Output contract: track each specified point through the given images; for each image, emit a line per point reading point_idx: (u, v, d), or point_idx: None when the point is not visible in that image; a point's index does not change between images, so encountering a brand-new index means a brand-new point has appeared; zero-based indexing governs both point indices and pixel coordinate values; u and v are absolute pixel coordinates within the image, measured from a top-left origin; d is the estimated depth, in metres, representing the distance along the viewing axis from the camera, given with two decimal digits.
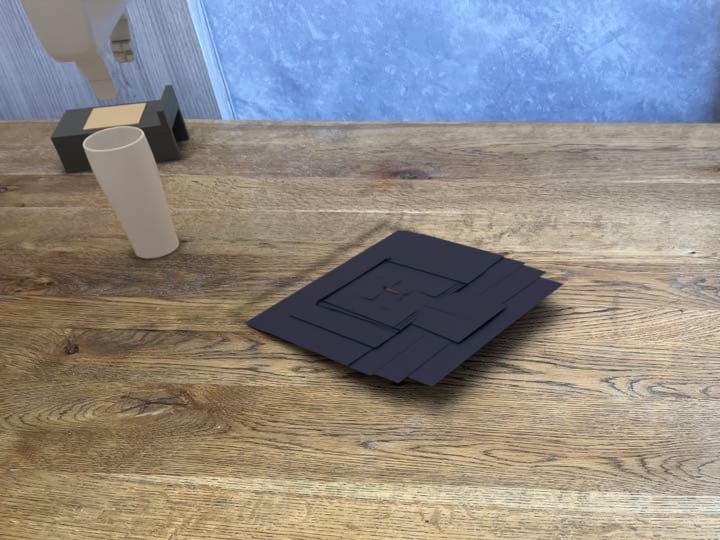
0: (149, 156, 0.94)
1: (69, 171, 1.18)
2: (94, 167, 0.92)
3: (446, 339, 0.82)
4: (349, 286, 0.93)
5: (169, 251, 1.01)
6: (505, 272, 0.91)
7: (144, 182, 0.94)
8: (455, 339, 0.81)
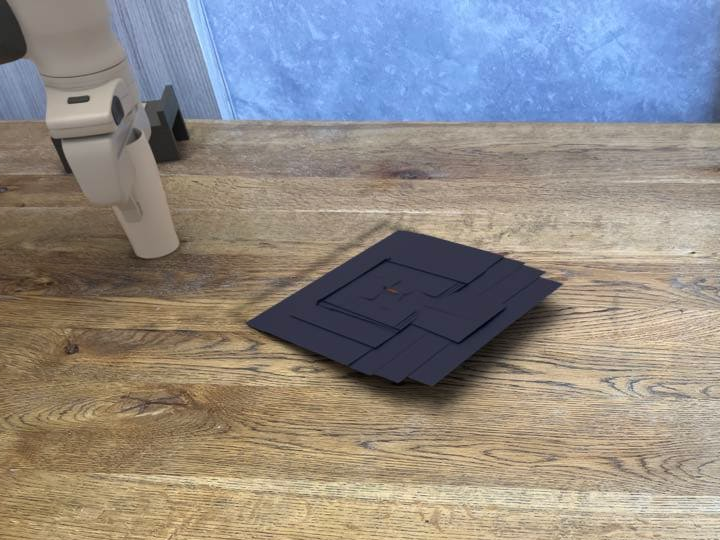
0: (149, 156, 0.94)
1: (69, 171, 1.18)
2: None
3: (446, 339, 0.82)
4: (349, 286, 0.93)
5: (169, 251, 1.01)
6: (505, 272, 0.91)
7: (144, 182, 0.94)
8: (455, 339, 0.81)
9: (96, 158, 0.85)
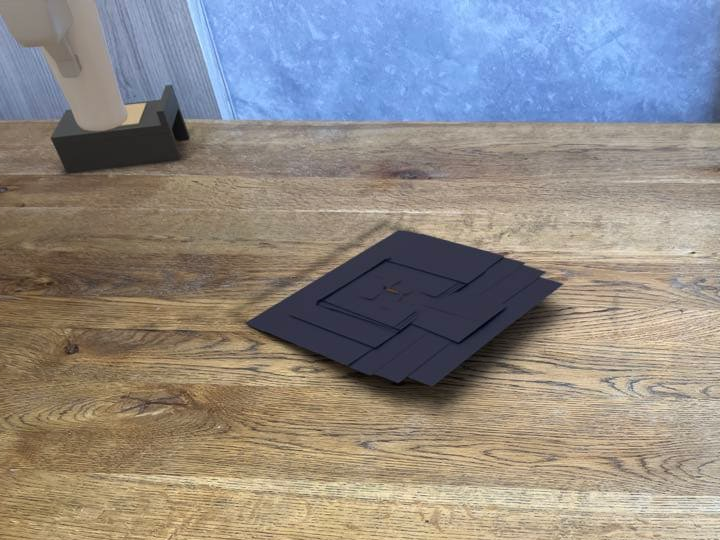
0: (89, 1, 0.83)
1: (69, 171, 1.18)
2: None
3: (446, 339, 0.82)
4: (349, 286, 0.93)
5: (114, 120, 0.90)
6: (505, 272, 0.91)
7: (83, 31, 0.83)
8: (455, 339, 0.81)
9: None
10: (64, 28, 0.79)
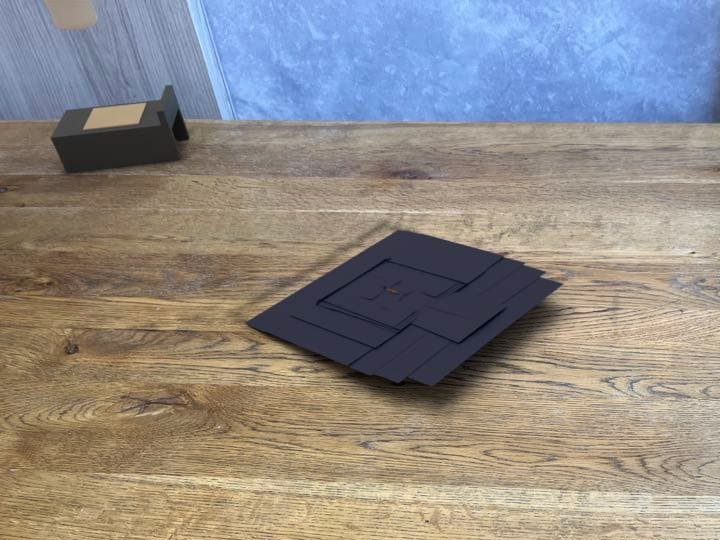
0: None
1: (69, 171, 1.18)
2: None
3: (446, 339, 0.82)
4: (349, 286, 0.93)
5: (86, 20, 1.04)
6: (505, 272, 0.91)
7: None
8: (455, 339, 0.81)
9: None
10: None
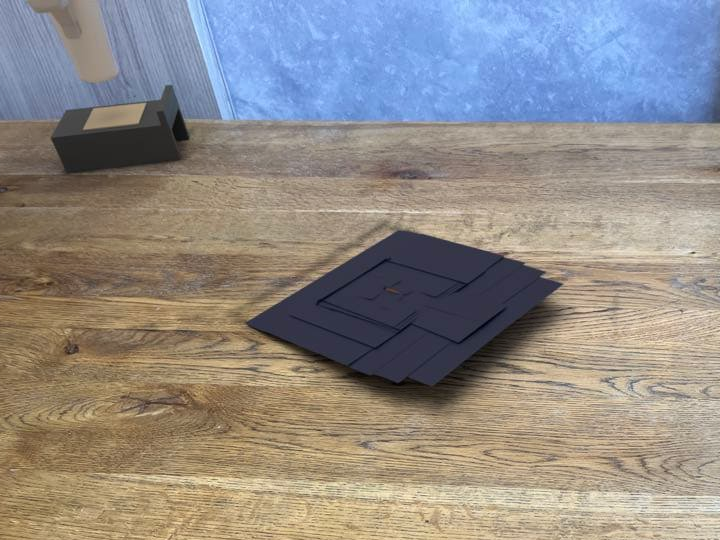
0: None
1: (69, 171, 1.18)
2: None
3: (446, 339, 0.82)
4: (349, 286, 0.93)
5: (108, 73, 1.14)
6: (505, 272, 0.91)
7: (82, 1, 1.07)
8: (455, 339, 0.81)
9: None
10: None
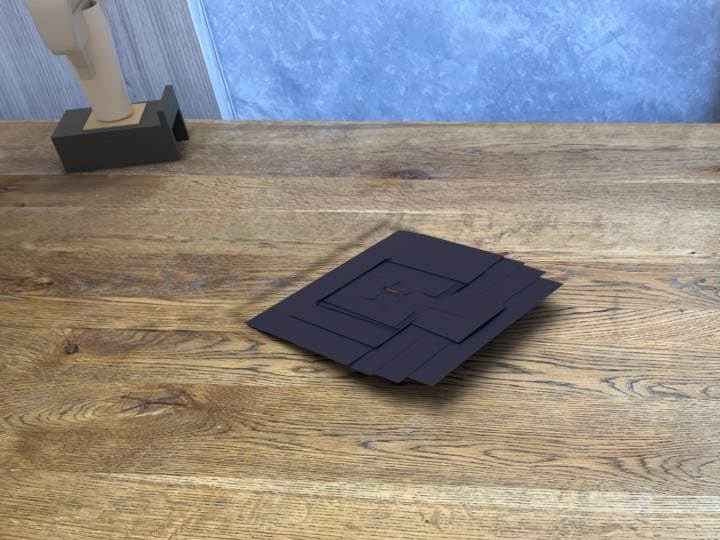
0: (103, 23, 1.11)
1: (69, 171, 1.18)
2: None
3: (446, 339, 0.82)
4: (349, 286, 0.93)
5: (123, 112, 1.17)
6: (505, 272, 0.91)
7: (99, 45, 1.11)
8: (455, 339, 0.81)
9: (52, 8, 1.01)
10: (84, 40, 1.06)
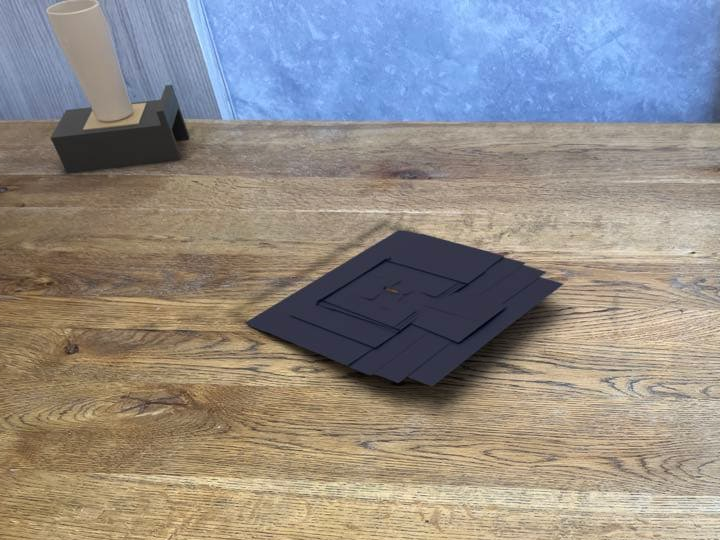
0: (103, 23, 1.11)
1: (69, 171, 1.18)
2: (56, 30, 1.09)
3: (446, 339, 0.82)
4: (349, 286, 0.93)
5: (123, 112, 1.17)
6: (505, 272, 0.91)
7: (99, 45, 1.11)
8: (455, 339, 0.81)
9: None
10: None
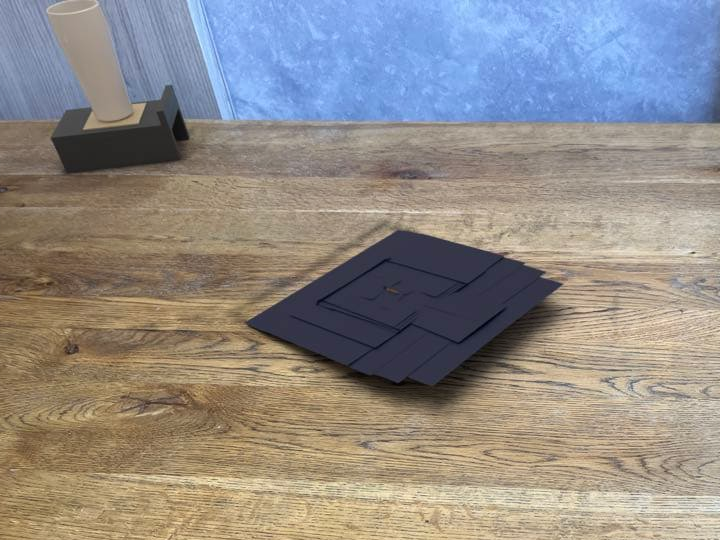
0: (103, 23, 1.11)
1: (69, 171, 1.18)
2: (56, 30, 1.09)
3: (446, 339, 0.82)
4: (349, 286, 0.93)
5: (123, 112, 1.17)
6: (505, 272, 0.91)
7: (99, 45, 1.11)
8: (455, 339, 0.81)
9: None
10: None
